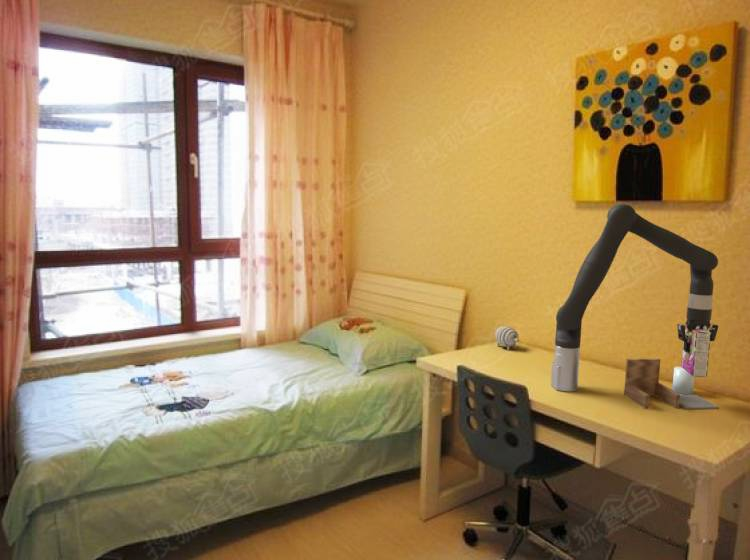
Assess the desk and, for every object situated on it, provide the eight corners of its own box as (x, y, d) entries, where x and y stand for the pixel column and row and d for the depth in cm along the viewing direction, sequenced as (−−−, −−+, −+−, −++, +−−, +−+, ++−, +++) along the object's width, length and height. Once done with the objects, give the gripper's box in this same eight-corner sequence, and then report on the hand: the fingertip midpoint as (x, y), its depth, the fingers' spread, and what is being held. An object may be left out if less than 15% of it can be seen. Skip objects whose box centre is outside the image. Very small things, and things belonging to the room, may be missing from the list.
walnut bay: (644, 408, 183) (647, 370, 181) (624, 394, 197) (626, 358, 195) (678, 408, 184) (682, 370, 182) (655, 393, 198) (658, 358, 196)
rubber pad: (685, 409, 183) (685, 407, 183) (665, 396, 195) (665, 395, 194) (718, 408, 183) (718, 407, 183) (696, 396, 195) (696, 394, 195)
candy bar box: (680, 367, 193) (684, 324, 191) (694, 367, 192) (698, 325, 190) (691, 376, 182) (696, 331, 180) (707, 377, 181) (712, 332, 179)
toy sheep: (502, 342, 271) (502, 322, 269) (526, 350, 257) (527, 328, 255) (487, 345, 266) (488, 324, 264) (511, 353, 251) (512, 331, 250)
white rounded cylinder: (679, 395, 196) (681, 372, 195) (668, 388, 203) (670, 366, 202) (697, 394, 197) (699, 372, 195) (685, 388, 204) (687, 366, 202)
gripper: (686, 308, 180) (682, 355, 182) (726, 308, 180) (721, 355, 183) (673, 304, 187) (669, 349, 190) (711, 304, 188) (707, 349, 190)
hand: (695, 352), depth 186 cm, fingers closed on candy bar box, 5 cm apart
